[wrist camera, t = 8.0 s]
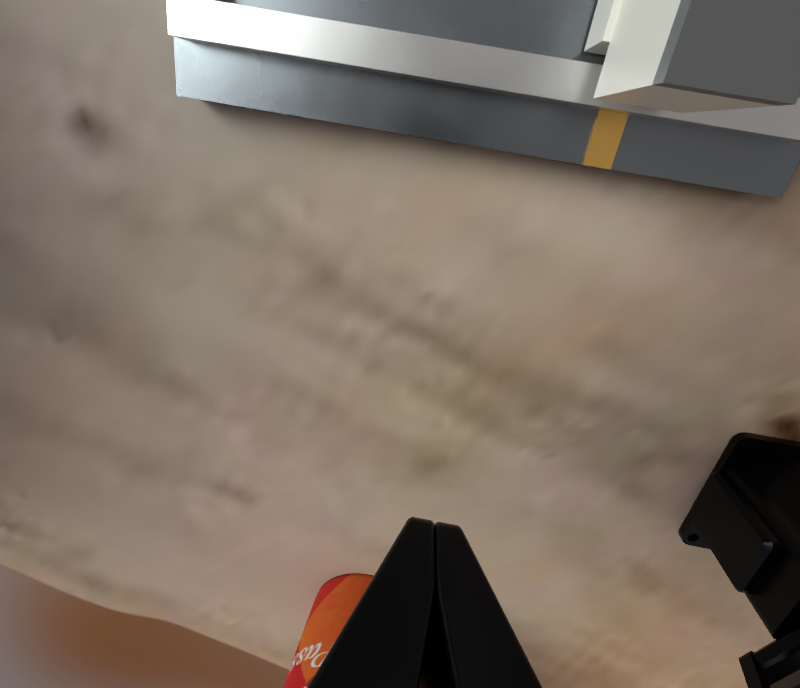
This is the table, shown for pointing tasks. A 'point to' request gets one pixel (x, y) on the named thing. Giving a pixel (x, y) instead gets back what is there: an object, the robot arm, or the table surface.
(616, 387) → the table surface
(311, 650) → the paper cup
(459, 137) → the console
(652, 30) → the fader tab
